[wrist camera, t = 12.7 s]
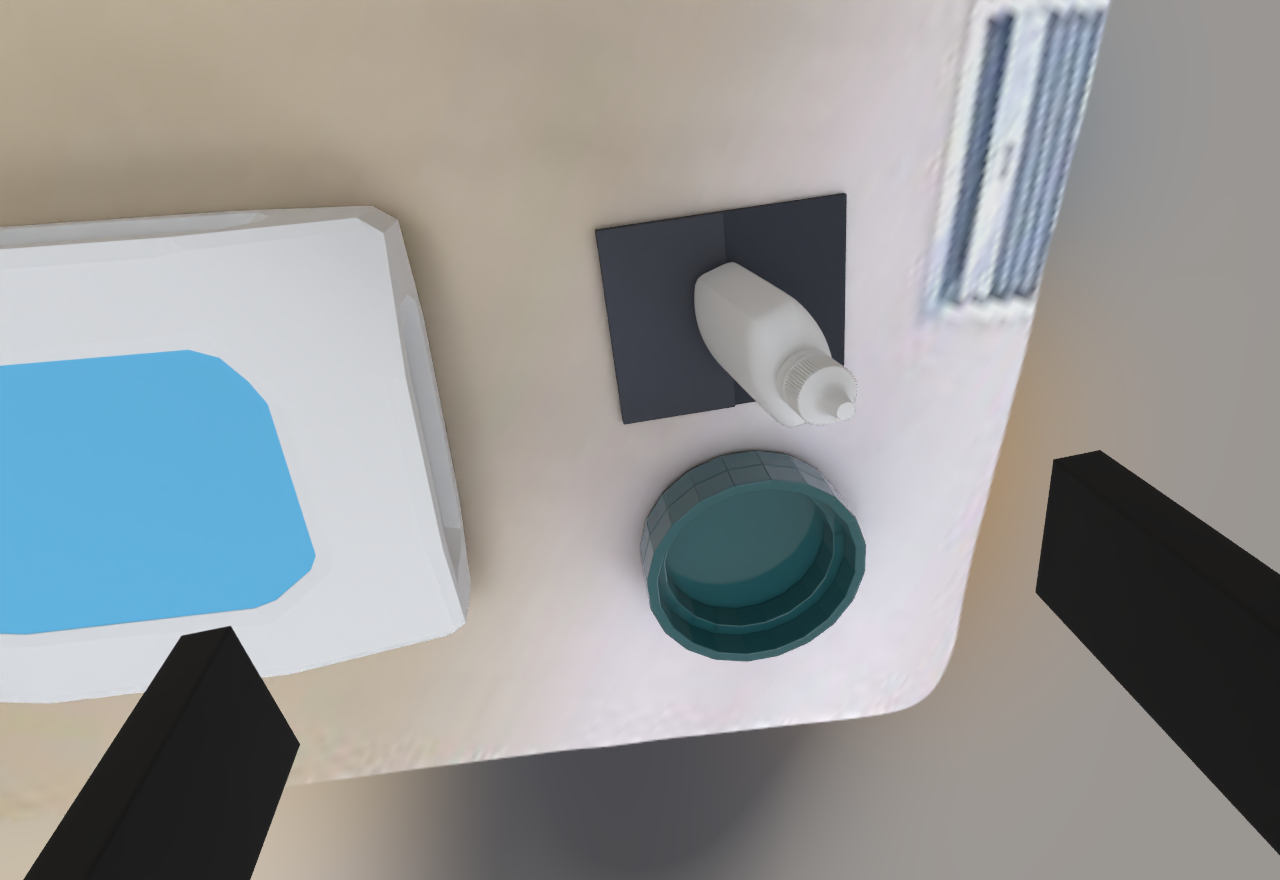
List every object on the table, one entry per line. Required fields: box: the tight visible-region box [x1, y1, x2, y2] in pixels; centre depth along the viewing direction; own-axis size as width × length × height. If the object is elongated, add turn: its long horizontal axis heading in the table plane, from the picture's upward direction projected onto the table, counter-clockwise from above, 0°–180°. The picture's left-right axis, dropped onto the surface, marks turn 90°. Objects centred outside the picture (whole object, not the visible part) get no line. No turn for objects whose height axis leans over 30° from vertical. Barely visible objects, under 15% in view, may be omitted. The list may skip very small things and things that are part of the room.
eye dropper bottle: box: [694, 262, 857, 428], centre depth 30 cm, size 4×6×12 cm
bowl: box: [640, 451, 866, 661], centre depth 41 cm, size 12×12×4 cm
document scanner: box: [0, 206, 471, 703], centre depth 32 cm, size 21×28×6 cm
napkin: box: [595, 193, 846, 424], centre depth 36 cm, size 10×12×1 cm
